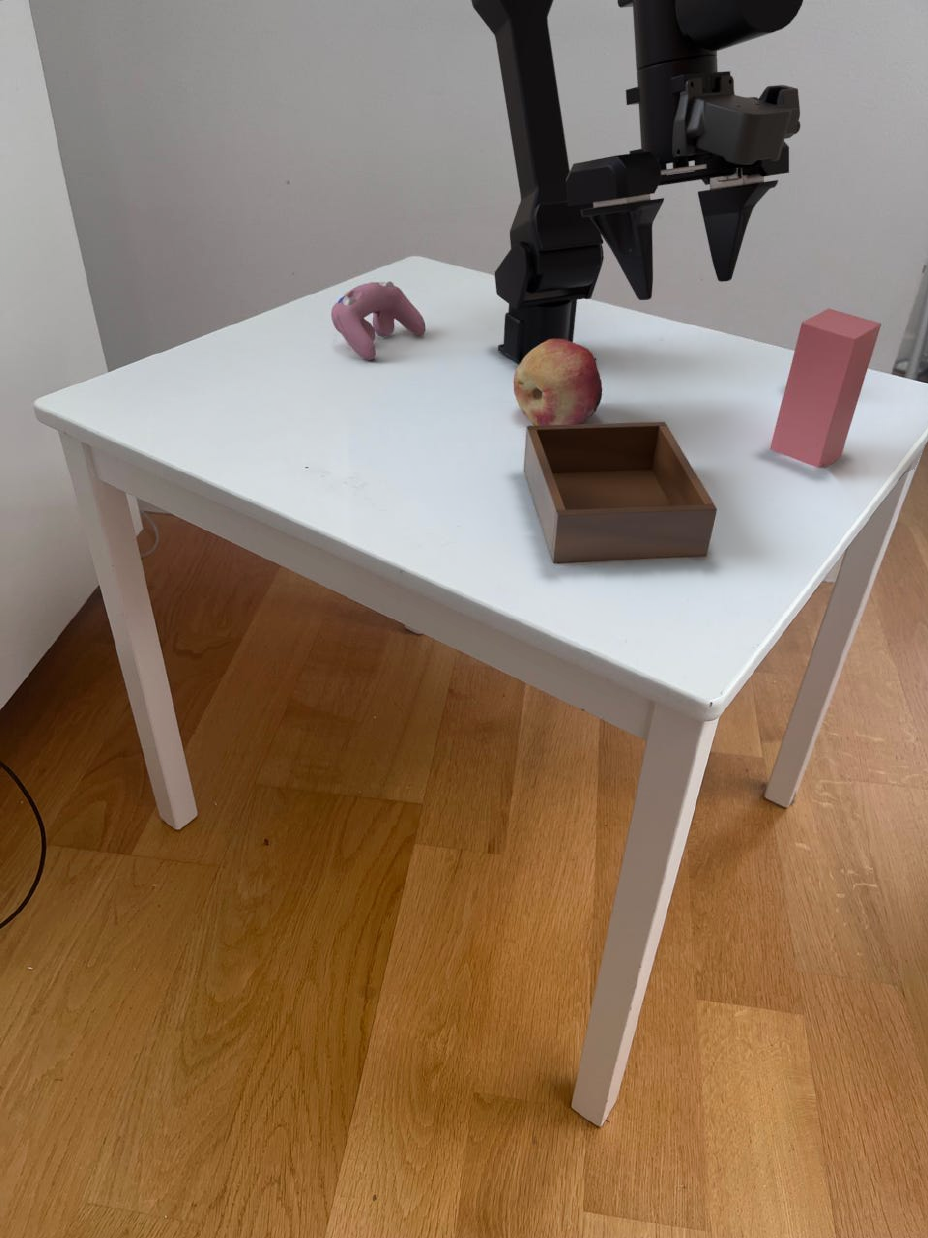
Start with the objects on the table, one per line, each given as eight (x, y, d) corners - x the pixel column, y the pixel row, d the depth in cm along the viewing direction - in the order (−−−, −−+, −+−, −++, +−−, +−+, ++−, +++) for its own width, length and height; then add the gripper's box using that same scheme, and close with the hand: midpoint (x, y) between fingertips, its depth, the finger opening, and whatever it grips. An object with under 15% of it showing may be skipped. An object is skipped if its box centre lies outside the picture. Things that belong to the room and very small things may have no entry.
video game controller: (402, 340, 104) (379, 277, 102) (432, 331, 101) (408, 265, 99) (343, 369, 98) (316, 302, 96) (372, 360, 95) (345, 291, 92)
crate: (522, 478, 78) (526, 425, 75) (656, 473, 79) (664, 421, 76) (552, 571, 68) (557, 515, 65) (705, 564, 69) (717, 508, 66)
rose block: (767, 456, 82) (801, 322, 75) (793, 439, 85) (828, 307, 77) (816, 475, 80) (856, 338, 72) (841, 457, 82) (882, 323, 75)
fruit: (502, 412, 88) (506, 328, 83) (580, 405, 89) (588, 322, 84) (527, 452, 82) (533, 364, 77) (610, 443, 83) (621, 357, 78)
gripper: (671, 42, 57) (682, 308, 64) (853, 35, 67) (848, 268, 73) (551, 79, 66) (572, 310, 72) (727, 68, 75) (732, 273, 81)
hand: (686, 289), depth 74 cm, fingers open, 9 cm apart
